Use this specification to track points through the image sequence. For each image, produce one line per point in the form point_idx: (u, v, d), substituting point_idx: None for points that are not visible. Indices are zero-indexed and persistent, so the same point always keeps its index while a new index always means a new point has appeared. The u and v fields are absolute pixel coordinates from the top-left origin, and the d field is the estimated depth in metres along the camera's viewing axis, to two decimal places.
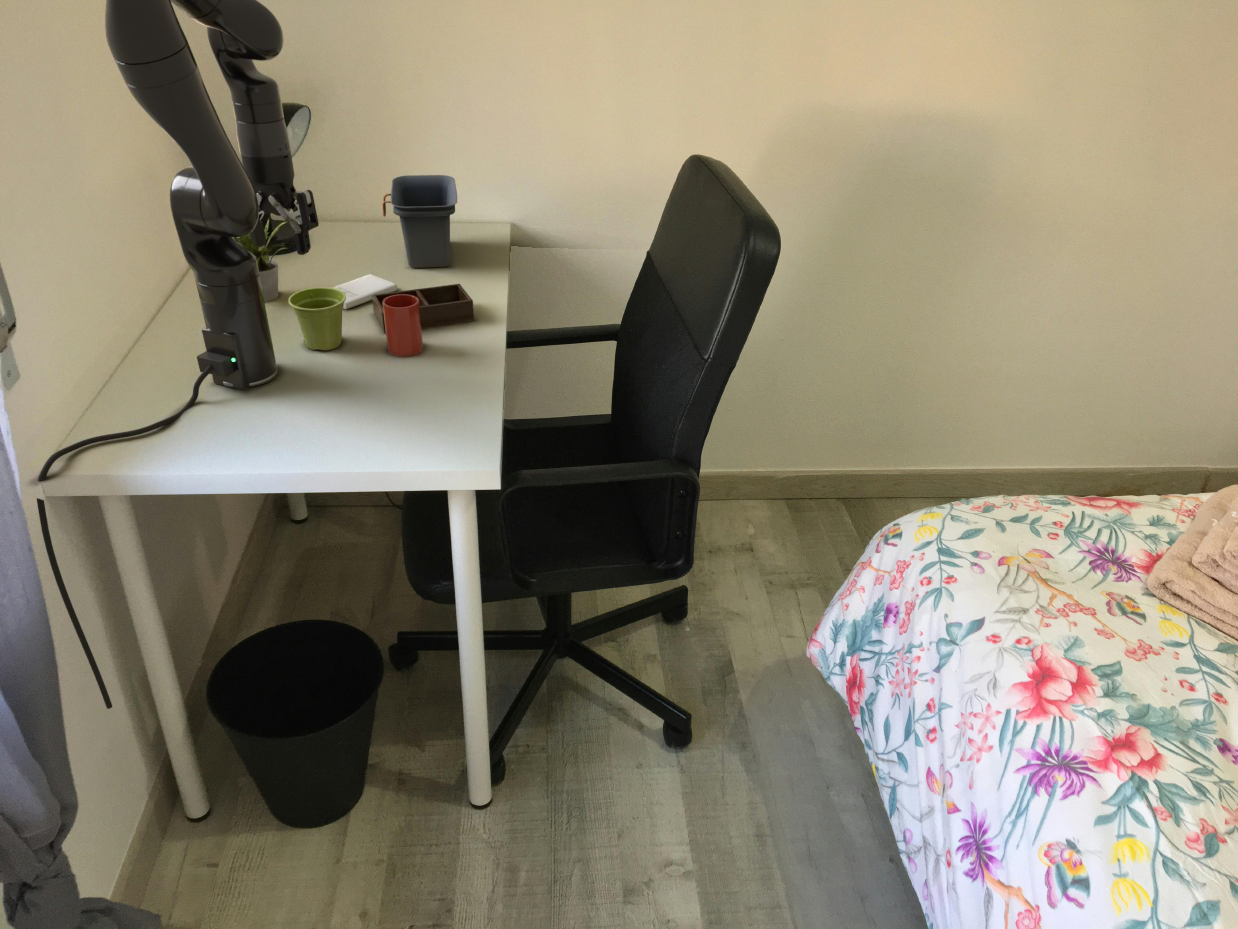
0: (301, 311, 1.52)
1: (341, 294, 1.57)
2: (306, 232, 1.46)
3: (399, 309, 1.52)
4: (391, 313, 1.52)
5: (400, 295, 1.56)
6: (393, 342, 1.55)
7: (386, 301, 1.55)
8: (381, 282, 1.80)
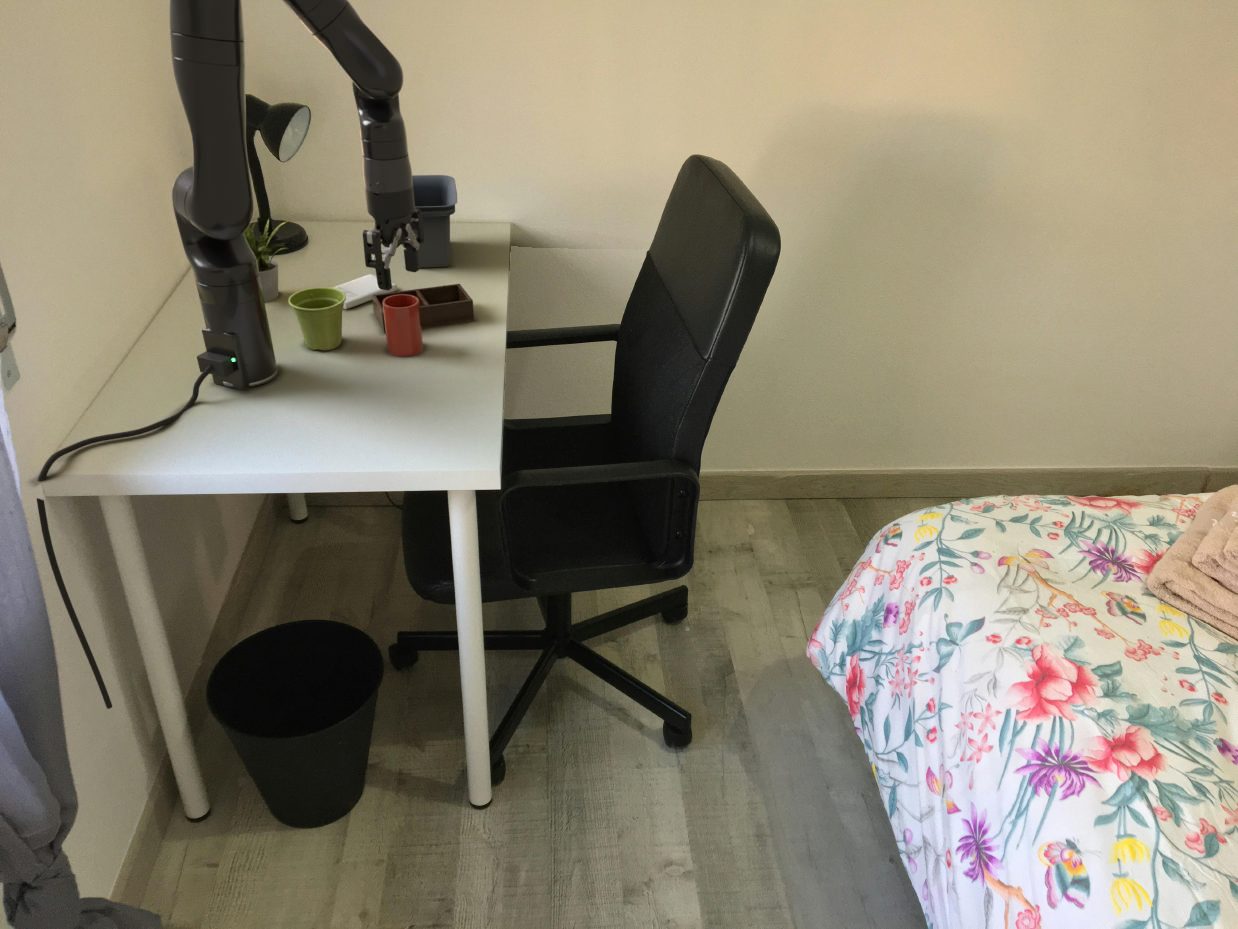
0: (301, 311, 1.52)
1: (341, 294, 1.57)
2: (379, 270, 1.46)
3: (399, 309, 1.52)
4: (391, 313, 1.52)
5: (400, 295, 1.56)
6: (393, 342, 1.55)
7: (386, 301, 1.55)
8: None
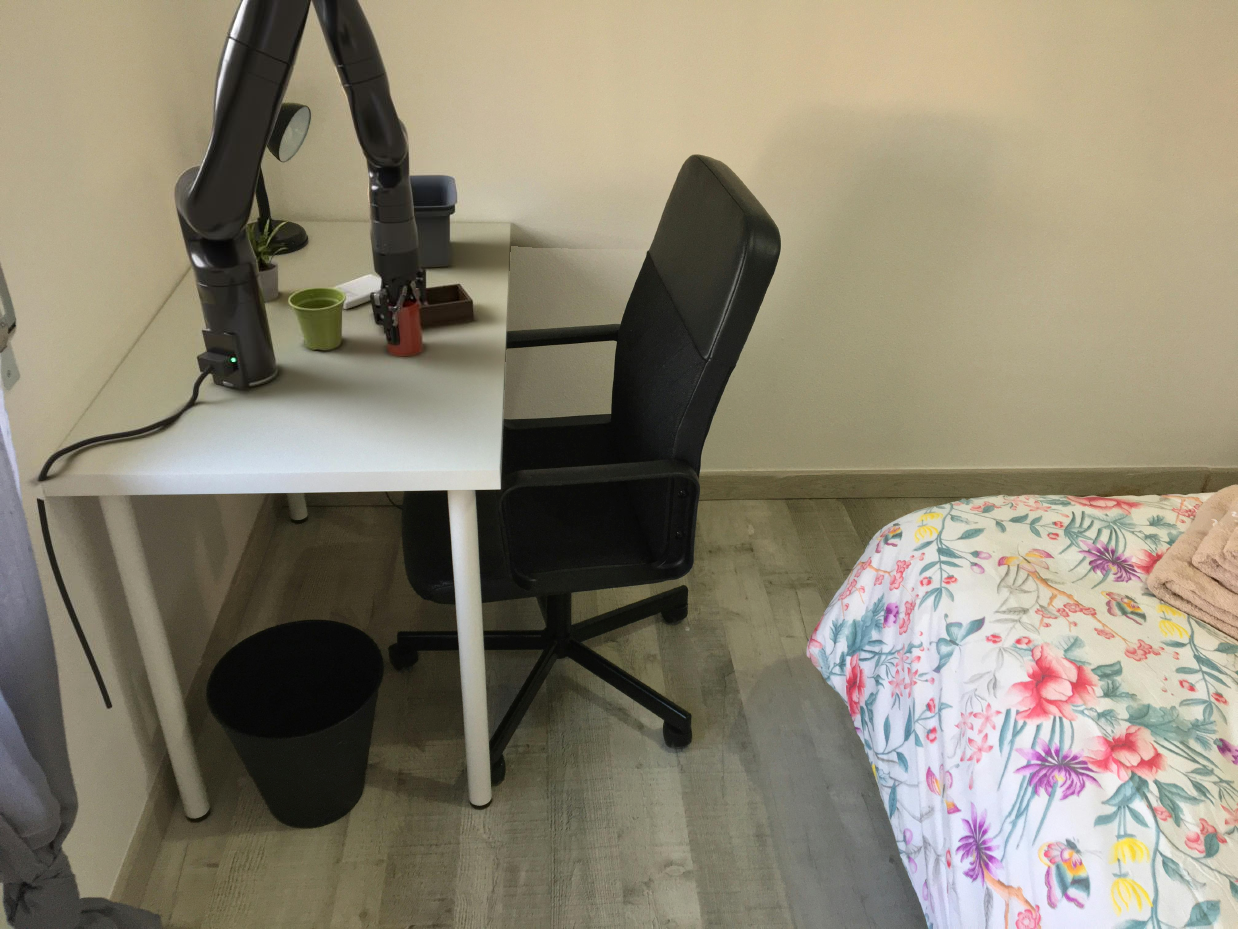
0: (301, 311, 1.52)
1: (341, 294, 1.57)
2: (388, 327, 1.52)
3: None
4: (391, 313, 1.52)
5: None
6: None
7: None
8: None
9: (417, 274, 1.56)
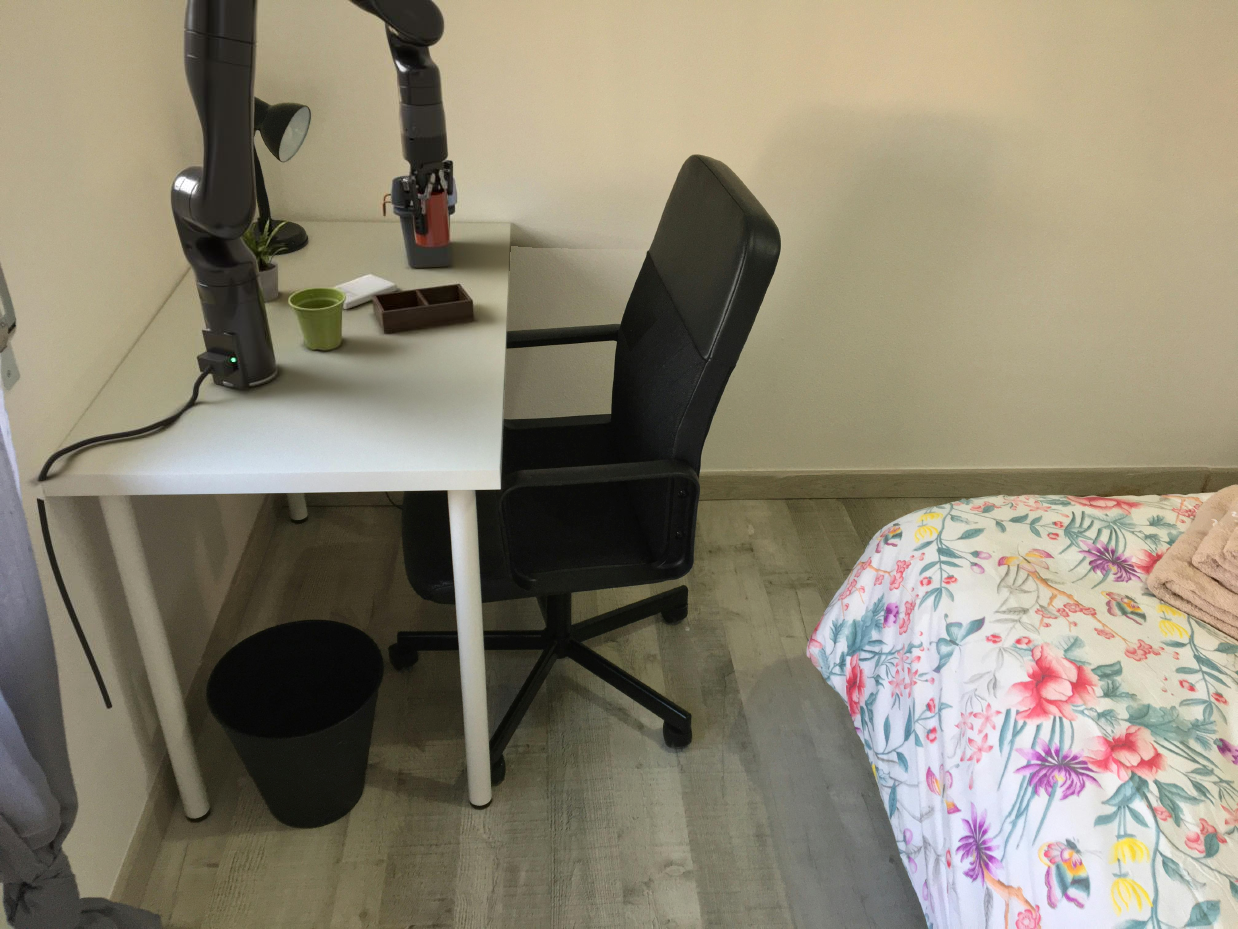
0: (301, 311, 1.52)
1: (341, 294, 1.57)
2: (417, 215, 1.54)
3: None
4: (419, 201, 1.54)
5: None
6: None
7: None
8: (381, 282, 1.80)
9: (444, 165, 1.58)
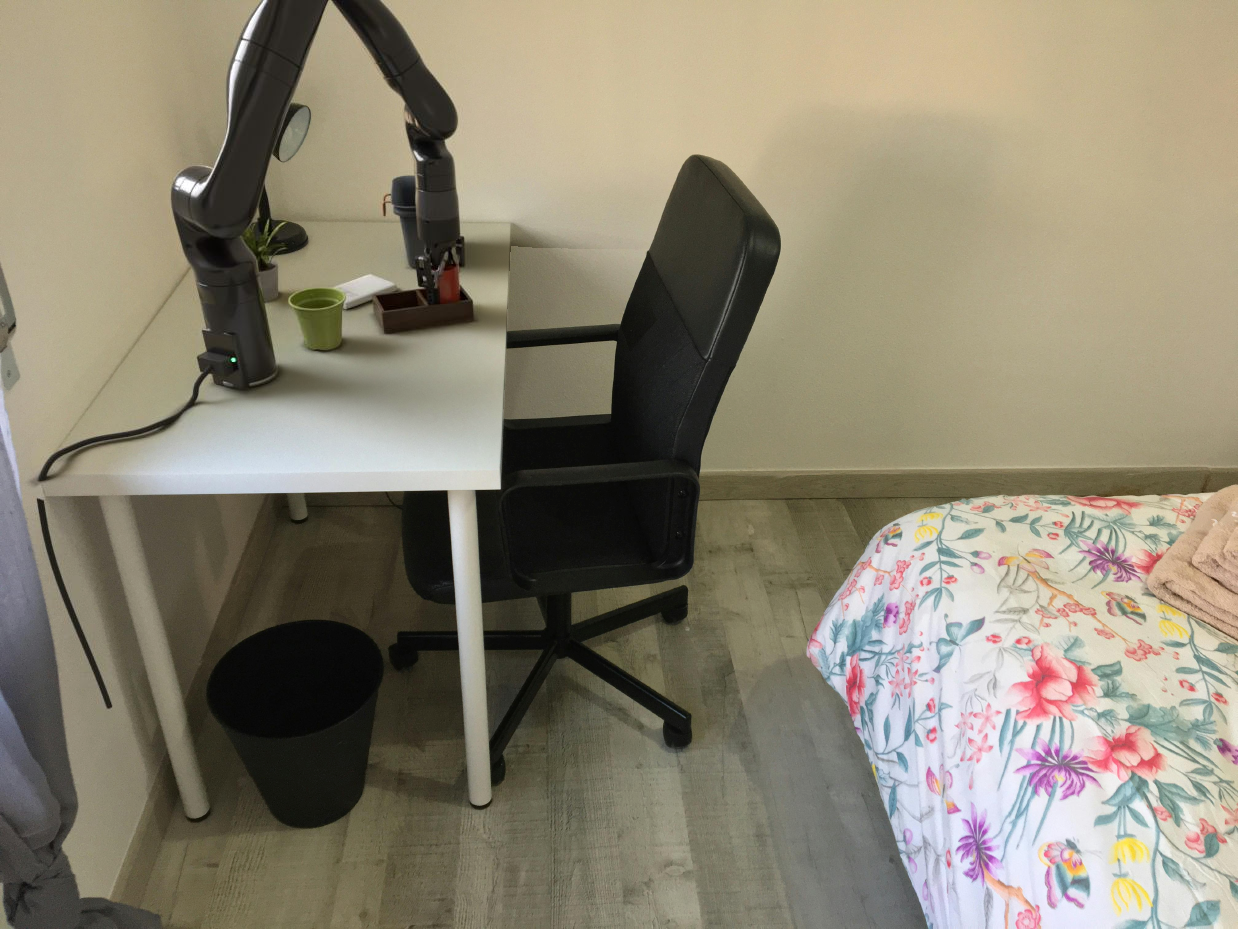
0: (301, 311, 1.52)
1: (341, 294, 1.57)
2: (430, 289, 1.64)
3: None
4: (433, 276, 1.65)
5: None
6: None
7: None
8: (381, 282, 1.80)
9: (456, 241, 1.69)
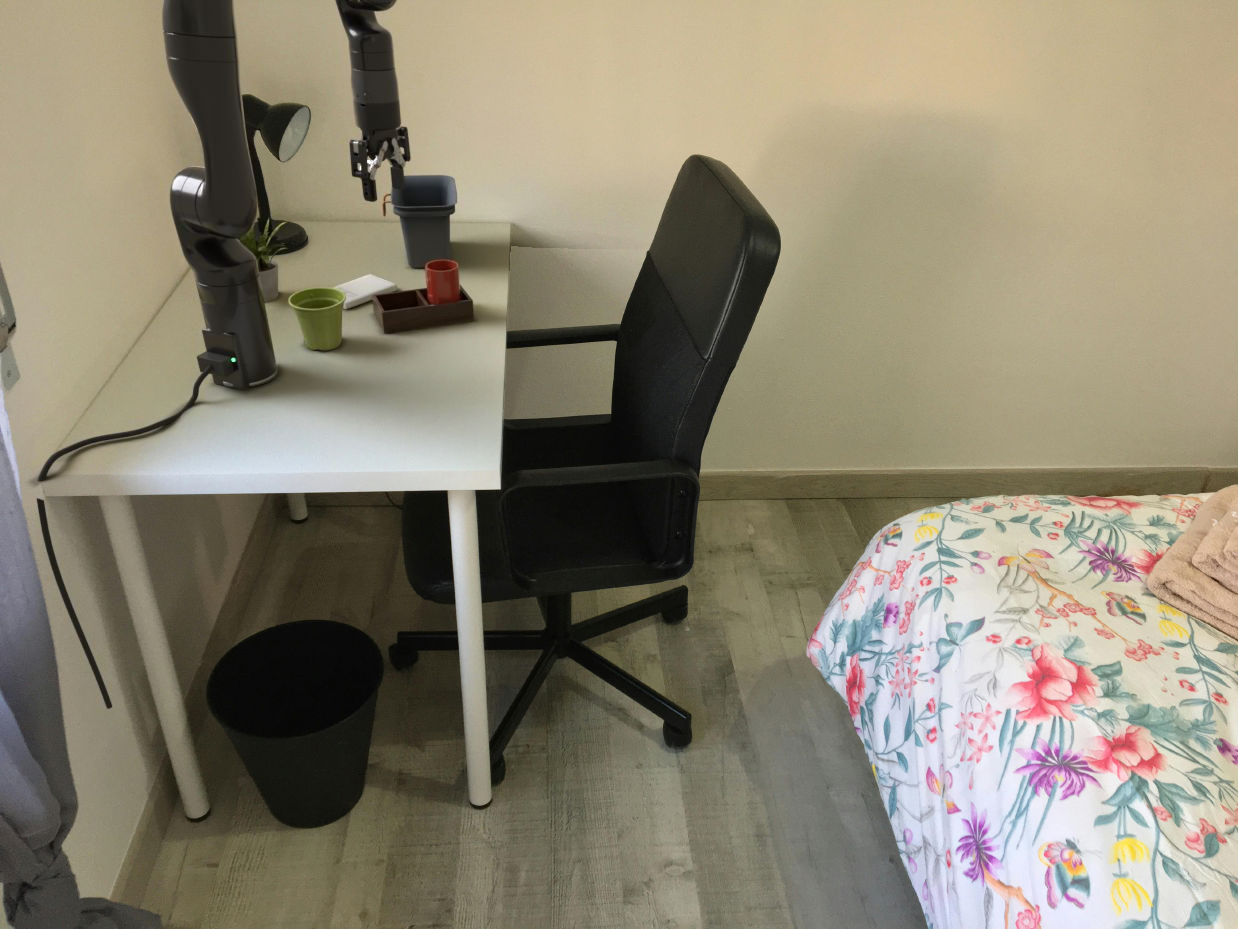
0: (301, 311, 1.52)
1: (341, 294, 1.57)
2: (365, 181, 1.52)
3: (441, 272, 1.64)
4: (433, 276, 1.65)
5: (441, 260, 1.69)
6: None
7: (428, 265, 1.67)
8: (381, 282, 1.80)
9: (399, 132, 1.58)
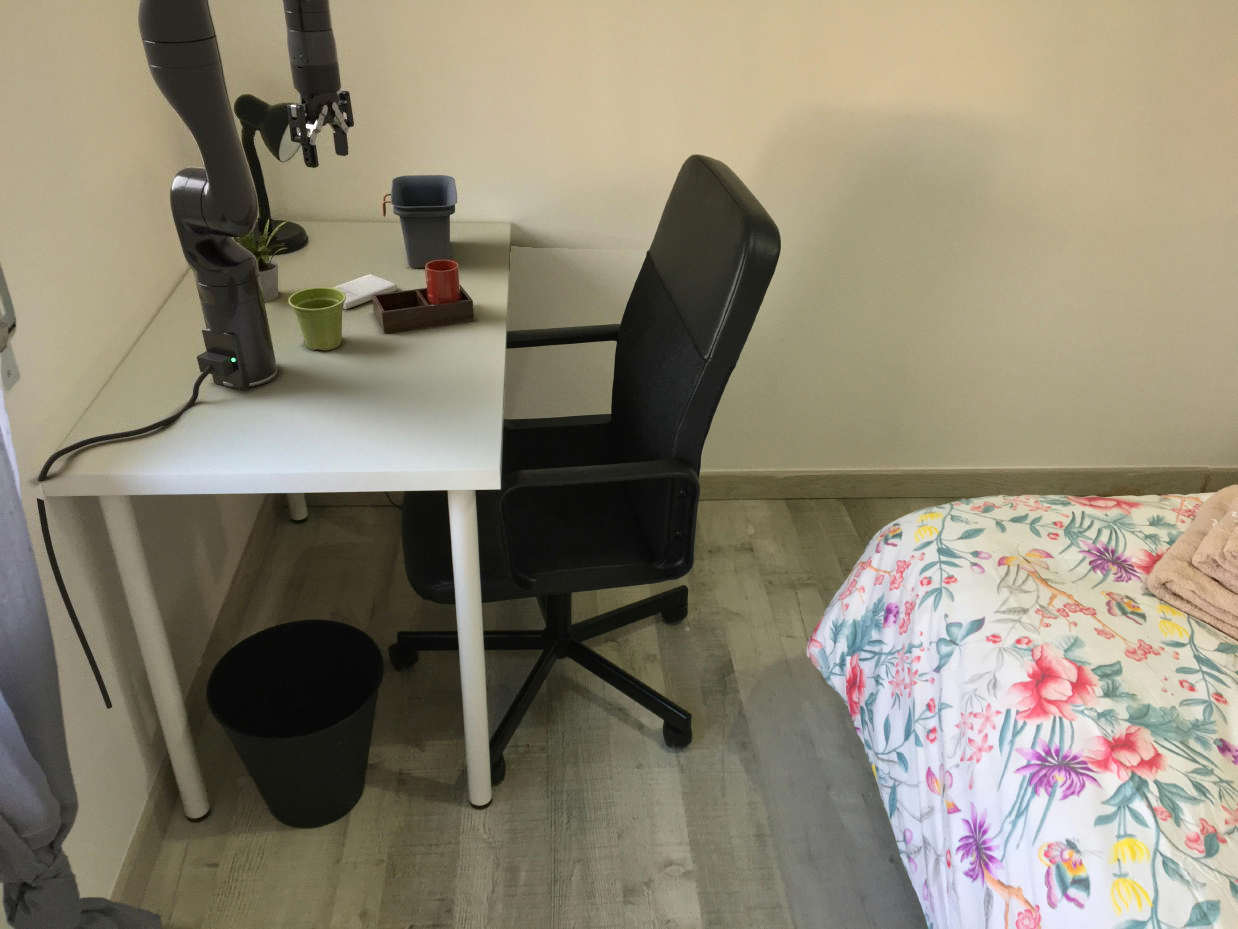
0: (301, 311, 1.52)
1: (341, 294, 1.57)
2: (305, 146, 1.49)
3: (441, 272, 1.64)
4: (433, 276, 1.65)
5: (441, 260, 1.69)
6: None
7: (428, 265, 1.67)
8: (381, 282, 1.80)
9: (340, 97, 1.54)
